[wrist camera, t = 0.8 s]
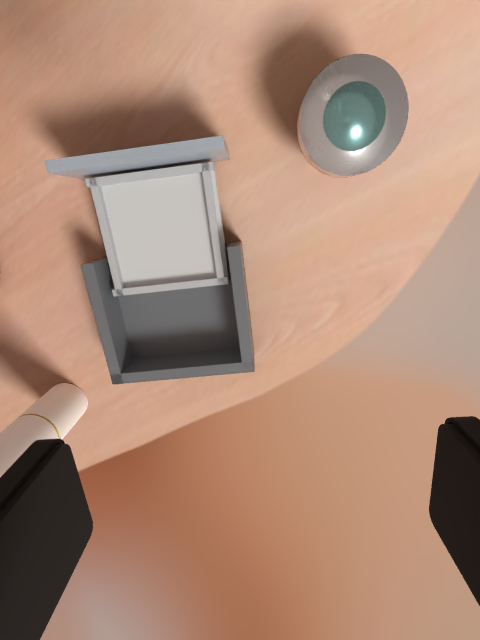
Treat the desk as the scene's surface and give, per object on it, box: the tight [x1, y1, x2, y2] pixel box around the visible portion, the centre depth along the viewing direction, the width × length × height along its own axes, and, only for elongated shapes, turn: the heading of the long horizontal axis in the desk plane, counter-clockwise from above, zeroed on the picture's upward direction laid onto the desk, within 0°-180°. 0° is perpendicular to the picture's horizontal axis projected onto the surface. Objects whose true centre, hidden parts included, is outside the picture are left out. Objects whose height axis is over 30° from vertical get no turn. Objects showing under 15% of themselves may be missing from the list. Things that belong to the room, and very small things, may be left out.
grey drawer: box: [45, 136, 230, 296], centre depth 27 cm, size 11×13×5 cm
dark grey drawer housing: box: [81, 241, 254, 384], centre depth 30 cm, size 11×13×4 cm
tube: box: [0, 383, 88, 477], centre depth 29 cm, size 4×4×15 cm
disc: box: [297, 54, 408, 178], centre depth 23 cm, size 7×7×2 cm
